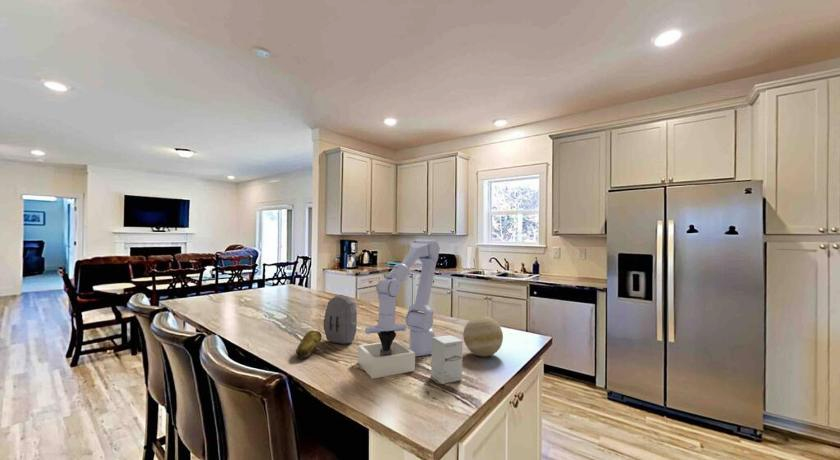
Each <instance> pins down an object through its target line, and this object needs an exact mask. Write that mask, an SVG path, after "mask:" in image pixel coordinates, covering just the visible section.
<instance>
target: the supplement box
mask: <svg viewBox="0 0 840 460" xmlns="http://www.w3.org/2000/svg"><path fill="white" fill-rule="evenodd" d="M463 342H464V340H462V339H459V338H458V337H456V336H453V335H451V334H449V335H442V336H435V337H432V354H431V362H430V363H431V366H430V367H431V369H430V370H431V371H430V373H431V374H430V376H431V377H432V378H433V379H435V380H436V381H437V382H439V383H440V384H441V385H445V384H449V383H453V382H458V381H462V378H463V377H462V376H463V375H462V374H463V371H462V370H463Z"/></svg>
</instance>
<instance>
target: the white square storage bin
mask: <svg viewBox="0 0 840 460" xmlns="http://www.w3.org/2000/svg"><path fill="white" fill-rule="evenodd" d="M390 348H391V349H392V355H389V356H383V357H381V356H380V349H382V344H381V342H373V343H369V344H368V343H367V344H360V345H358V346H357V349H358V351H357V363H358V364H359V366H360V367H361V368H362V369H363V370H364V371H365V372H366V374H368V376H369V377H370V378H371V379H378V378H382V377H389V376H393V375H400V374H405V373H410V372H415V371H416V356H415V352H413V351H412V350H410V349H409V347H408V346H406V345H404V344H403V343H402V342H401V341H399V340H393V342H392V344H391V347H390Z"/></svg>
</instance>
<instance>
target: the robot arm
mask: <svg viewBox="0 0 840 460" xmlns="http://www.w3.org/2000/svg"><path fill="white" fill-rule="evenodd" d="M440 249H441V248H440V244H439V243H438V241H437V240H436V239H414V240H413V241H412V243H411V244H410V249H409V251H408V253H407V254H406V255H405V257H404V258H403V260H402V262H401V263H396V264H395V265H393V268H392V269H391V271H390V272H389V273H388V274H387V275H386V276H385V278H381V279H380V280H379V281H378V282H377V285H376V287H375V289H376V293H377V295H378V296H377V297H378V300H379V304H378V324H377V325H373V326H367V327H365V330H364V331H365V332H364V333H365V334H366V335H370V334H377V336H378V338H379V340H380V343H381V344H382V349H383V350H384V351H389V350H390V347H391V344H392V342H393V341H395V338H396V337H397V333H396V332H406V331H407V329H408V330H409V346H408V348H409V349H410V350H412V351H413V352H415V357H420V356H427V355H432V337H436V336H435V332H434V329H432V327H433V325H434V318H433V317H434V311H433V310H432V307H430V305H429V303H430V298H431V293H432V289H433V282H434V278H435V277H434V276H435V270H436V266H437V262H438V260H439V254H440ZM417 260H418V261H420V262H421V265H422V266H421V271H420V275H419V276H420V277H419V282H418V287H417V291H416V296H415V302H414V303H413V304H412V305H410V306H409V307H408V310H407V311H408V312H407V313H406V314H405V324H403V323H401V324H398V323H397V324H396V309H397V308H396V307H397V306H396V305H397V295H399V294H400V292H401V287H402V285H403V284H402V283H403V282H404V281H405V280H406V278H407V277H408V275H409V274H410V271H409V269H410V268H411V267H412V266H414V264H415V263H416V261H417Z"/></svg>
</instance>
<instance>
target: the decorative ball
mask: <svg viewBox="0 0 840 460" xmlns="http://www.w3.org/2000/svg"><path fill="white" fill-rule="evenodd" d="M462 334H463V335H462V336H463V342H464V345H465V346H466V348H467V349H468V351H469V352H471V353H472V354H473V355H475V356H479V357H481V358H482V357H484V358H485V357H491V356H493V355H495V354H496V353H497V352H498V351H499V350H500V349H501V347H502V344H503V340H504V335H503V331H502V328H501V326H500V324H499V323H498V322H497V321H496V320H495V319H494V318H492V317H490V316H486V315H478V316H474V317H471V319H469V320H468V322H467V323H466V324H465V326H464V328H463V333H462Z"/></svg>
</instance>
